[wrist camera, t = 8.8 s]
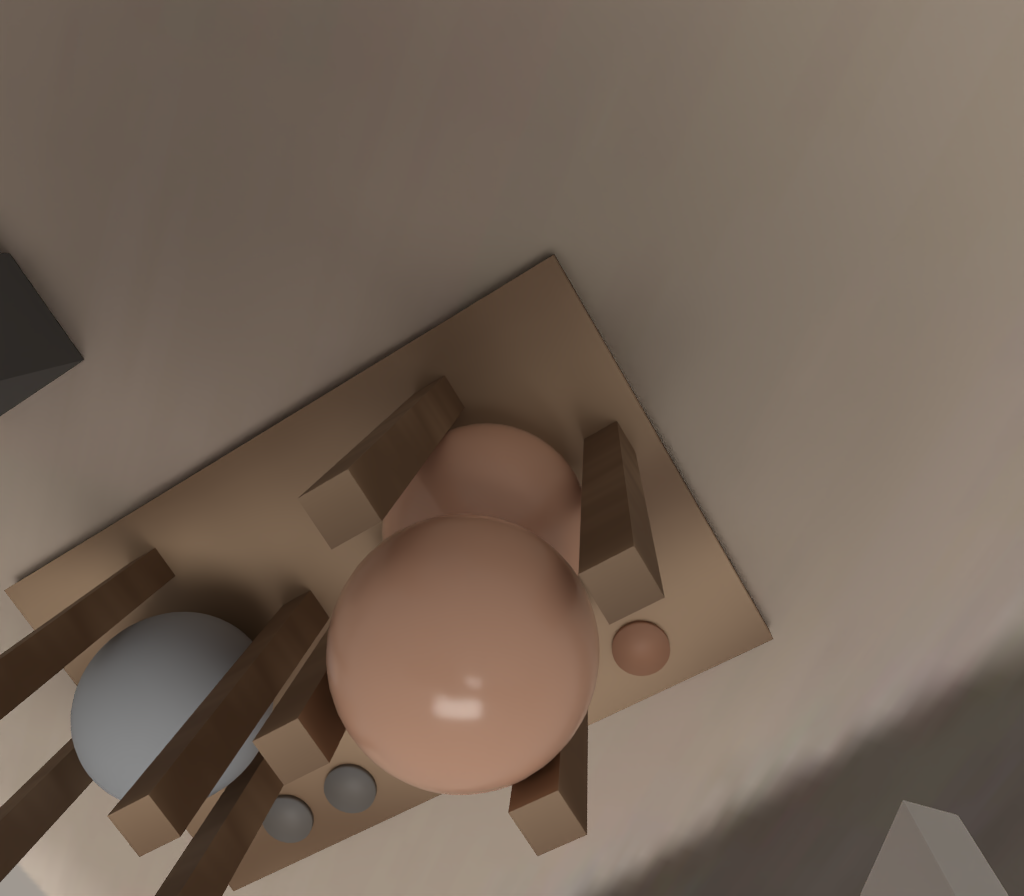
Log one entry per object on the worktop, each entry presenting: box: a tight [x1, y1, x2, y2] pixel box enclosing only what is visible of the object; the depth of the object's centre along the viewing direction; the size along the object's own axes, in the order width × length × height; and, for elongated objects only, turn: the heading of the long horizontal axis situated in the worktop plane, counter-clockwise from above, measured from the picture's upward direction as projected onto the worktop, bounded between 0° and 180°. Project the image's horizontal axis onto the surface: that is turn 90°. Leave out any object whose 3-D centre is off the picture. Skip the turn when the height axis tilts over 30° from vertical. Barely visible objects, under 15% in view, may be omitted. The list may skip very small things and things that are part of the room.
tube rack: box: [0, 255, 773, 896], centre depth 19 cm, size 12×19×10 cm, turn 121°
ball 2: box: [382, 423, 582, 576], centre depth 20 cm, size 5×5×5 cm
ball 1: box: [71, 612, 273, 800], centre depth 22 cm, size 5×5×5 cm
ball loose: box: [326, 513, 600, 795], centre depth 15 cm, size 5×5×5 cm
